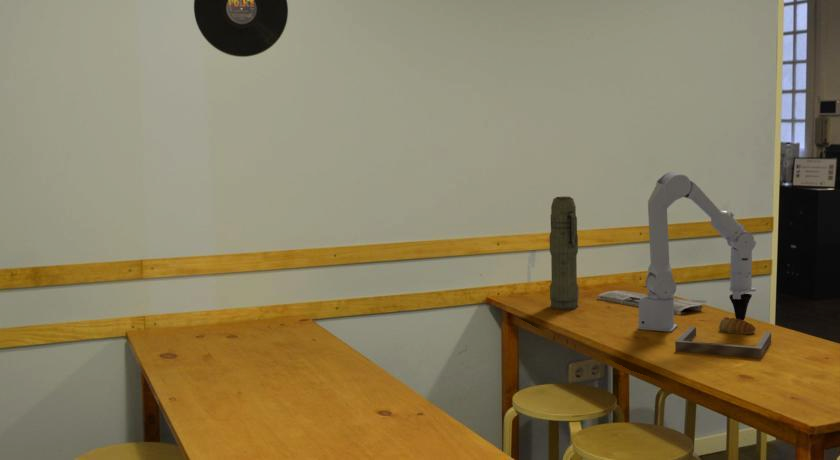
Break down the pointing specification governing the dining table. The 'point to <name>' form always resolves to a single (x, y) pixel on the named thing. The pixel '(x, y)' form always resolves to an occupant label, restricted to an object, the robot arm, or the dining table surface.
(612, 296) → the newspaper
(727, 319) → the pastry
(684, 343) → the grey u-shaped frame
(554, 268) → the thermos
